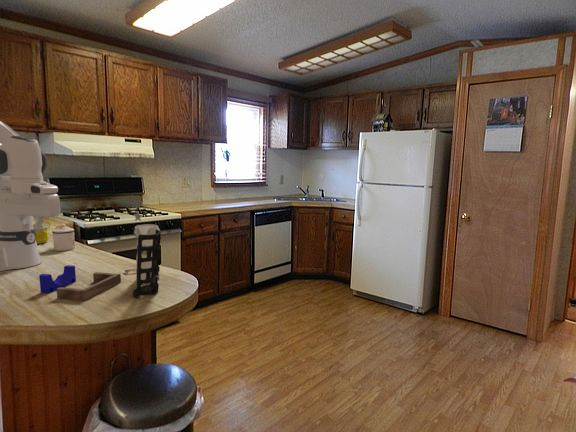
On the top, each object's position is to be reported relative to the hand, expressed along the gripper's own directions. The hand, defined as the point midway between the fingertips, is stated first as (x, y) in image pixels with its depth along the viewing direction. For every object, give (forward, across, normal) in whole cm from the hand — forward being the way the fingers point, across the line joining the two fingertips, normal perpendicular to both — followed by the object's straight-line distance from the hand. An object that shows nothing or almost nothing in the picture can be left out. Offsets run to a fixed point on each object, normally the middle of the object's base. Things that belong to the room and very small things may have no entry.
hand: (31, 229), depth 126 cm
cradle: (+19, +20, 0) cm, 28 cm away
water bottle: (+19, +33, +14) cm, 41 cm away
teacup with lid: (+19, -30, +48) cm, 60 cm away
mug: (+20, -51, +55) cm, 77 cm away
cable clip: (+20, +8, 0) cm, 21 cm away
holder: (+19, +40, +2) cm, 44 cm away
